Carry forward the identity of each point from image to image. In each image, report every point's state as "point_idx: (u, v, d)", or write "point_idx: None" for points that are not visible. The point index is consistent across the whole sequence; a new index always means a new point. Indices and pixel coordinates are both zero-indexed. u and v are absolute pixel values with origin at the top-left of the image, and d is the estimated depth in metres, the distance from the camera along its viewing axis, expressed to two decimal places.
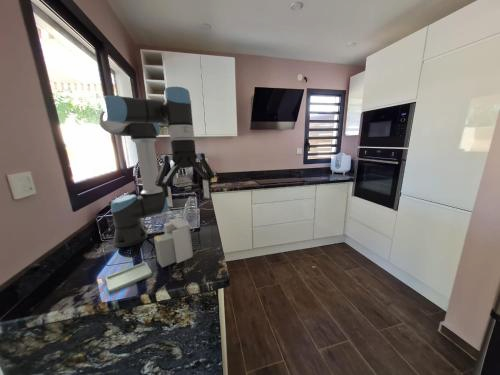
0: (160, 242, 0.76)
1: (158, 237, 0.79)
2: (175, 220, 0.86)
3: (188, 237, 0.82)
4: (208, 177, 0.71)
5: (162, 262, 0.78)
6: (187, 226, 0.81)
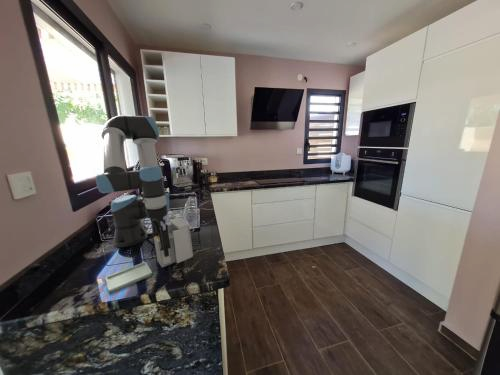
0: (160, 242, 0.76)
1: (158, 237, 0.79)
2: (175, 220, 0.86)
3: (188, 237, 0.82)
4: (162, 247, 0.76)
5: (162, 262, 0.78)
6: (187, 226, 0.81)
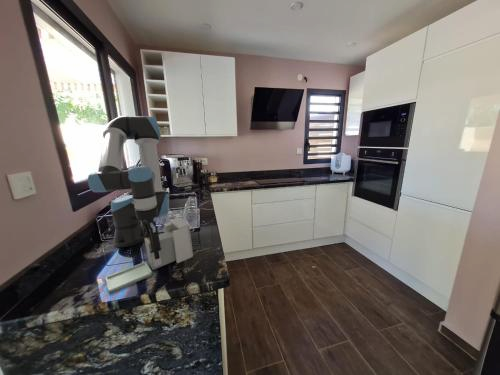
0: None
1: None
2: (175, 220, 0.86)
3: (188, 237, 0.82)
4: (152, 249, 0.73)
5: (153, 264, 0.76)
6: (187, 226, 0.81)
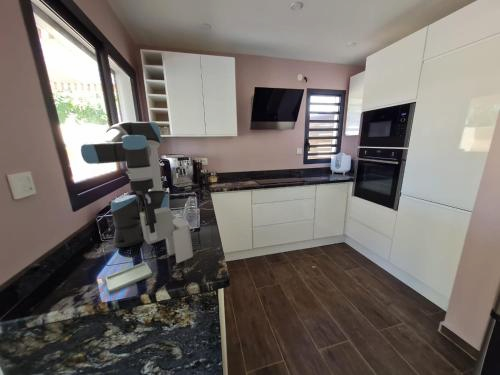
0: None
1: (144, 212, 0.75)
2: (175, 220, 0.86)
3: (188, 237, 0.82)
4: (147, 222, 0.71)
5: (148, 238, 0.73)
6: (187, 226, 0.81)
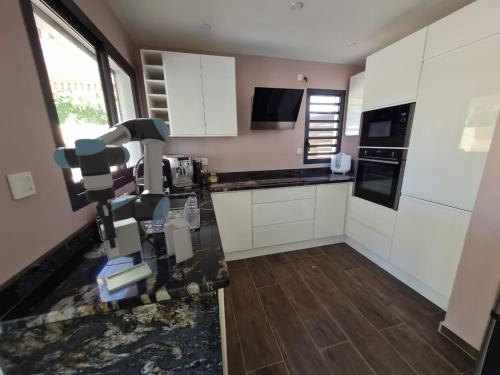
0: None
1: None
2: (175, 220, 0.86)
3: (188, 237, 0.82)
4: None
5: (108, 255, 0.65)
6: (187, 226, 0.81)
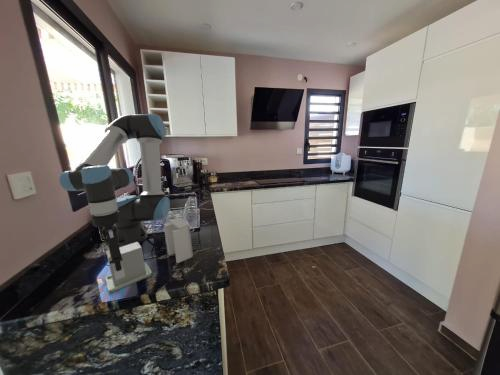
0: (111, 258, 0.66)
1: None
2: (175, 220, 0.86)
3: (188, 237, 0.82)
4: None
5: (114, 280, 0.67)
6: (187, 226, 0.81)
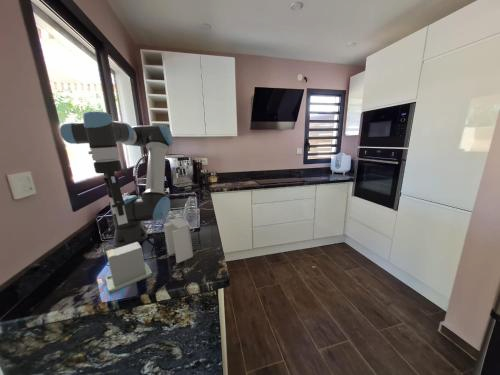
0: (111, 258, 0.66)
1: (111, 251, 0.69)
2: (175, 220, 0.86)
3: (188, 237, 0.82)
4: (114, 204, 0.64)
5: (114, 280, 0.67)
6: (187, 226, 0.81)
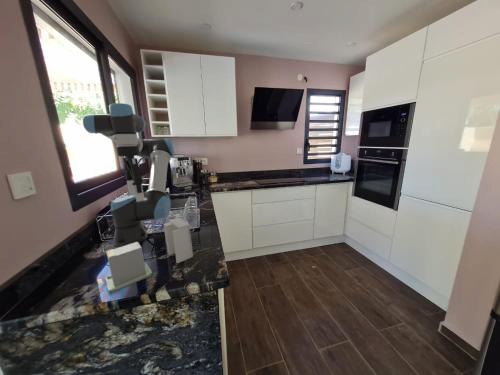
0: (111, 258, 0.66)
1: (111, 251, 0.69)
2: (175, 220, 0.86)
3: (188, 237, 0.82)
4: (134, 182, 0.74)
5: (114, 280, 0.67)
6: (187, 226, 0.81)
